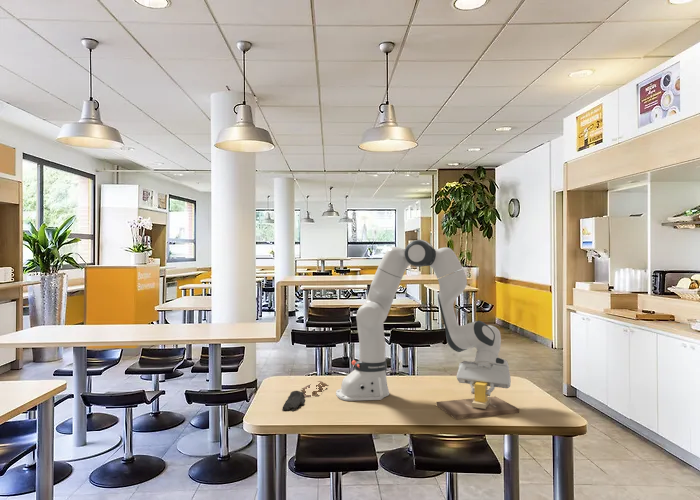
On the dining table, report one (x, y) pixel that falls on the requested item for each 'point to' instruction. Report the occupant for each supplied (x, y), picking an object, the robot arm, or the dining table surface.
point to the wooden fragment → (316, 388)
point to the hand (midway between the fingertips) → (480, 394)
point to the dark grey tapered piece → (294, 401)
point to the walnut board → (465, 409)
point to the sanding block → (480, 395)
